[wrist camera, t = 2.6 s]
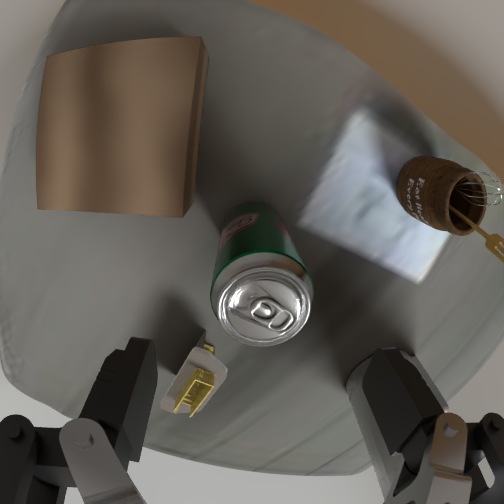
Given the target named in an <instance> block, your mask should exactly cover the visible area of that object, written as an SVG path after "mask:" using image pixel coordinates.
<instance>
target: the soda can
mask: <svg viewBox="0 0 504 504" xmlns="http://www.w3.org/2000/svg"><path fill="white" fill-rule="evenodd" d="M313 299H314V286H313V282H312V279H311V276H310V274H309V272H308V270H307V268H306V266H305V264H304V262H303V260H302V258H301V256H300V254H299V252H298V250H297V248H296V246H295V244H294V242H293V240H292V239H291V237H290V235H289V233H288V231H287V229H286V227H285V225H284V223H283V221H282V219H281V218H280V216H279V215H278V213H277V212H276V211H275V210H273V209H272V208H271V207H269V206H267V205H265V204H261V203H246V204H242V205H240V206H238V207H236V208H235V209H233V210H232V211H231V212H230V213H229V214H228V216H227V217H226V219H225V221H224V223H223V227H222V232H221V237H220V242H219V248H218V253H217V258H216V264H215V269H214V275H213V280H212V286H211V292H210V301H211V306H212V309H213V312H214V314H215V316H216V317H217V319H218V320H219V322H220V324H221V326H222V328H223V329H224V330H225V332H226V333H227V334H228V335H229V336H231V337H232V338H233V339H235V340H237V341H238V342H241V343H243V344H246V345H250V346H256V347H267V346H273V345H278V344H280V343H283V342H285V341H287V340H289V339H291V338H292V337H294V336H295V335H296V334H297V333H299V332H300V331H301V329H302V328H303V327H304V326H305V324H306V322H307V320H308V318H309V315H310V311H311V306H312V304H313Z"/></svg>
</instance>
